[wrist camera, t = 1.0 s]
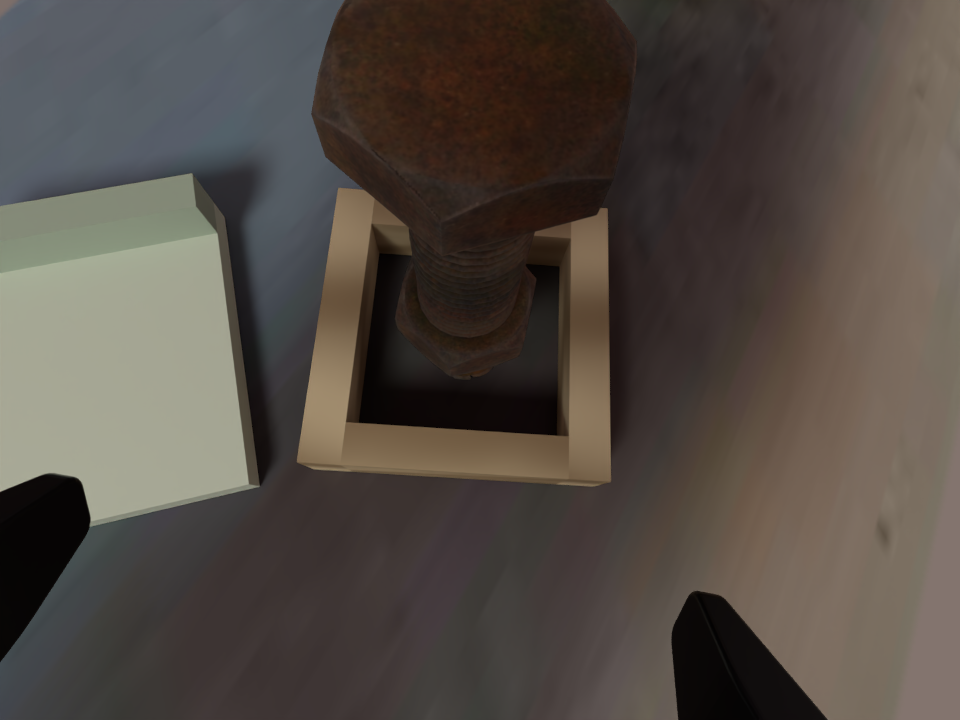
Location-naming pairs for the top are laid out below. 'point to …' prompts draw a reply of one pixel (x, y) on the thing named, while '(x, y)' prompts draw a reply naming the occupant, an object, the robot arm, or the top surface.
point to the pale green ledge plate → (123, 348)
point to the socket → (453, 452)
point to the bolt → (475, 147)
